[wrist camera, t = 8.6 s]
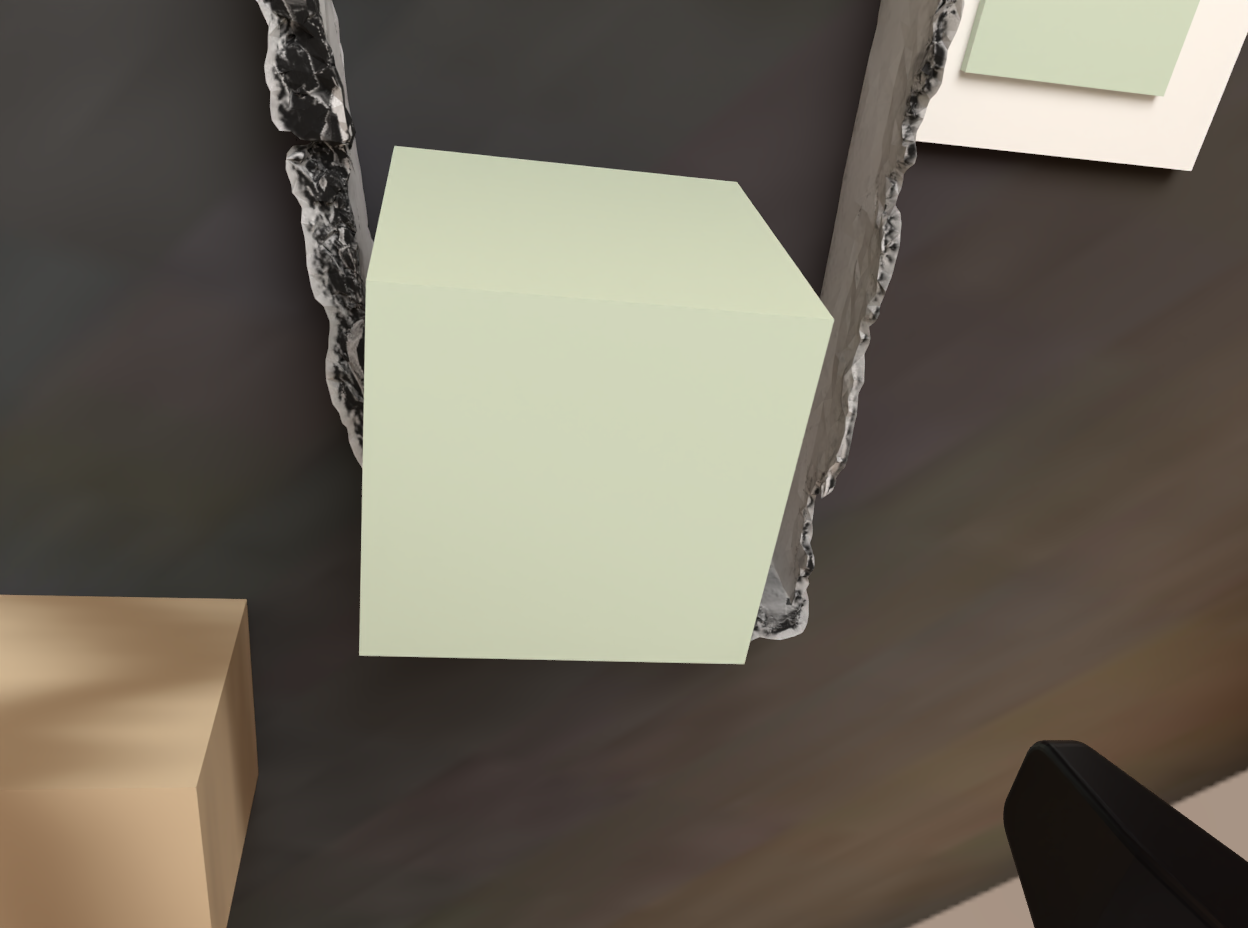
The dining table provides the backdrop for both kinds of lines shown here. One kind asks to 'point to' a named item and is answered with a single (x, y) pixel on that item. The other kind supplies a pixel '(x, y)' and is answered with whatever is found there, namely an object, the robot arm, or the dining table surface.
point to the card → (1087, 78)
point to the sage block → (576, 412)
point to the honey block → (123, 760)
